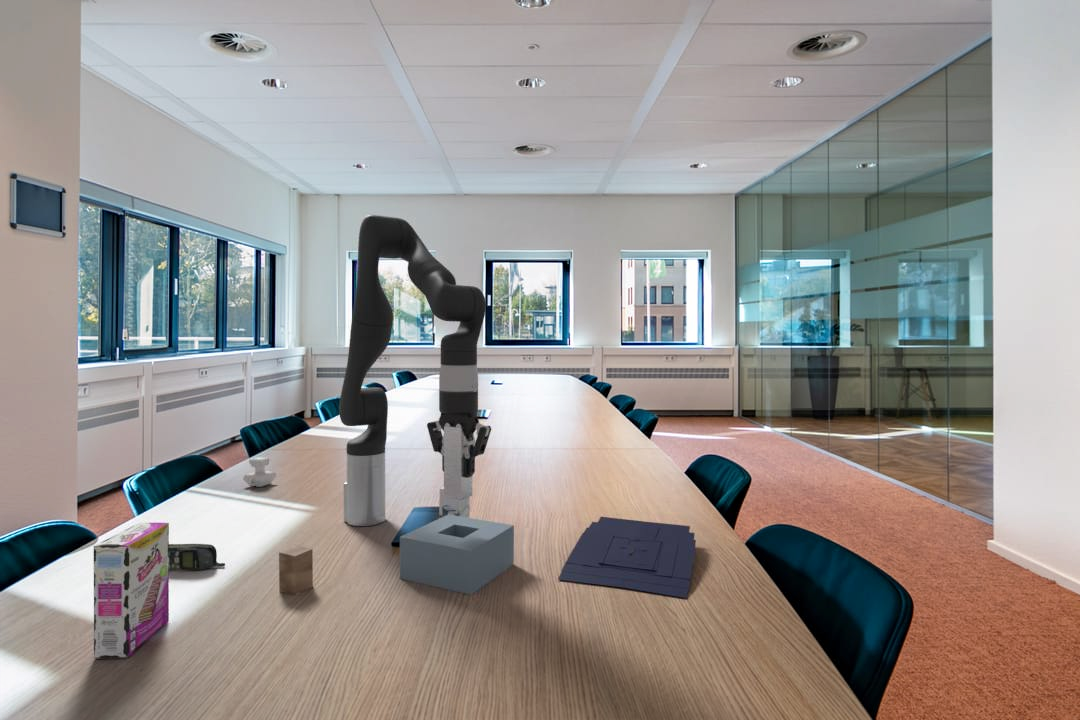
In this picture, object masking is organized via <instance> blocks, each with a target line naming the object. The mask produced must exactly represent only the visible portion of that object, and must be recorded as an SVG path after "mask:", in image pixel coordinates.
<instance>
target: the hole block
mask: <svg viewBox="0 0 1080 720" xmlns="http://www.w3.org/2000/svg"><path fill="white" fill-rule="evenodd" d="M514 543H515V525H514V524H507V523H503V522H502V523H501V522H496V521H489V520H483V519H477V518H472V517H469V518H467V517H461V516H455V515H446V516H444V517H442V518H439V517H438V518H437V519H436V520H434V521H431V522H429V523H427V524H425V525H423V526H420V527H418V528H416V529H414V530H412V531H410V532H407V533H406V534H405V533H404V534H403V535H400V536H399V579H401V580H405V581H409V582H414V583H419V584H424V585H426V586H427V585H428V586H432V587H436V588H440V589H444V590H447V591H453V592H458V593H461V594H465V595H466V594H467V595H470V596H471V595H473V594H474V593H476V592H477V591H479V590H480V589H481V588H483V587H484V586H486V585H487V584H488V583H490V582H491V581H493V580H494V579H495V578H497V577H498V576H499V575H501V574H502V573H504V572H505V571H506V570H508V569H509V568H510V567H512V566H513V565H514V559H515V558H514V557H515V553H514V551H515V544H514Z"/></svg>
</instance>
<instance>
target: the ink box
mask: <svg viewBox="0 0 1080 720" xmlns="http://www.w3.org/2000/svg"><path fill="white" fill-rule="evenodd" d="M470 497H471V496H470ZM470 497H468V498H466V499H464V500H454V499H447V498H444V485H443V486H442V487H440V488H439V509H438V510H439V511H438V512H439V514H438V519H439V518H442V517H444V516H446V515H455V516H461V517H467V518H470V510H471V509H470V507H471V506H470V503H471V502H470V501H471V499H470Z"/></svg>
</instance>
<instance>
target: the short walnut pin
mask: <svg viewBox="0 0 1080 720" xmlns="http://www.w3.org/2000/svg"><path fill="white" fill-rule="evenodd" d="M313 550H314V549H313V548H310V547H305V546H301V545H294V546H292V547H290V548H287V549H285V550H281V551H279V552H278V575H279V576H278V577H279V578H278V579H279V580H278V581H279V583H278V584H279V585H278V587H279V591H280V592H283V593H287V594H291V595H294V596H295V595H298V594H300V593H302V592H305V591H306V590H308V589H310V588H312V587H313V586H314V583H313V582H314V578H313V576H314V574H313V571H314V570H313V569H314V568H313V567H314V566H313V565H314V564H313V562H314V559H313V557H314V556H313V553H314V552H313Z"/></svg>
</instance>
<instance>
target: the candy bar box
mask: <svg viewBox="0 0 1080 720" xmlns="http://www.w3.org/2000/svg"><path fill="white" fill-rule="evenodd" d="M169 526H170V522H139V523H136V524H134V525H132V526H130V527H128V528H127V529H125V530H123V531H120V532H118V533H117V534H115V535H113V536H111V537H109V538H106V539H105V540H103V541H101V542H100V543H97V544H95V545H93V659H99V660H100V659H102V660H103V659H105V660H107V659H119V660H120V659H127V658H130V656H132V654H133V653H135V652H136V651H137V650H138V649H139V648H140V647H141V646H142V645H144V644H145V643H146V642H147V641H148V640H150V639H151V638H152V637H153V636H154V635H155V634H156V633H158V631H160V630H161V629H162V628H163V627H164V626H165V625H167V624H168V623H169V621H170V620H169V619H170V617H169V614H170V613H169V612H170V609H169V608H170V606H169V605H170V603H169V601H170V600H169V599H170V597H169V592H170V591H169V590H170V589H169V585H170V583H169V582H170V581H169V580H170V577H169V576H170V575H169V572H170V571H169V544H170V543H169V541H170V537H169V536H170V535H169V534H170V531H169V530H170V527H169Z"/></svg>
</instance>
